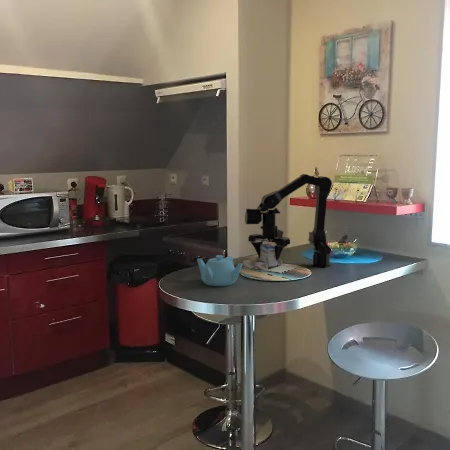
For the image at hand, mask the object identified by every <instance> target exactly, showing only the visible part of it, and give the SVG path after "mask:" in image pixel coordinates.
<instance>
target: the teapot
mask: <svg viewBox="0 0 450 450" xmlns="http://www.w3.org/2000/svg"><path fill="white" fill-rule="evenodd" d="M233 259H234V258H233V256H227V257H225V258H224V255H222V254H217V255H215V257H213V258H210V259H208V260H207V262H206V263H205V262H204V260H203V258H196V262H197V264H198V269H199V273H200V278H201V280H202V282H203V283H204V284H205V285H206V286H210V287H228V286H232V285H234V283H235V282H237V280H238V277H239V275H240V272H241V270H242V268H243V267H242V265H243V264H241V262H239V263H237V265H236V267H235V264H234V263H235V262H234V260H233Z"/></svg>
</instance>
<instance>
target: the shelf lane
mask: <svg viewBox="0 0 450 450" xmlns="http://www.w3.org/2000/svg"><path fill="white" fill-rule="evenodd" d="M240 263H241V264H243V265H242V268H246V267H250V268H249V269H252V268H257V269H256V270H258V269H261V270H260V271H263V270H266V271H265V272H268V271H267V270H269V266H268V264H267V263H261V262H260V258H259V256H258V254H254V255H250V256H245V257H242V258H240ZM277 265H278V266H282V265H283V259H282V258H281V259H280V258H279V260H277ZM278 266H277V267H278Z"/></svg>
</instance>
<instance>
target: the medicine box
mask: <svg viewBox="0 0 450 450" xmlns="http://www.w3.org/2000/svg"><path fill="white" fill-rule="evenodd" d="M275 246H276V245H273V244H271V243H262V244H261V245H260V262H261V263H267V264H268V268H270V267H278V266H277V260H276V255H275Z"/></svg>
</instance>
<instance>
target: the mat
mask: <svg viewBox="0 0 450 450" xmlns="http://www.w3.org/2000/svg"><path fill="white" fill-rule="evenodd" d="M294 268H296V267H293V266H288V265H283V264H282V266H274V267H273V268H268V270H267V271H266V272H269V271H272V272H271V273H275V272H278V273H277V274H282V272H283V273H285V272H284V271H286V272H289V271H288V270H290V271H292V270H291V269H293V270H295V269H294Z"/></svg>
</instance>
